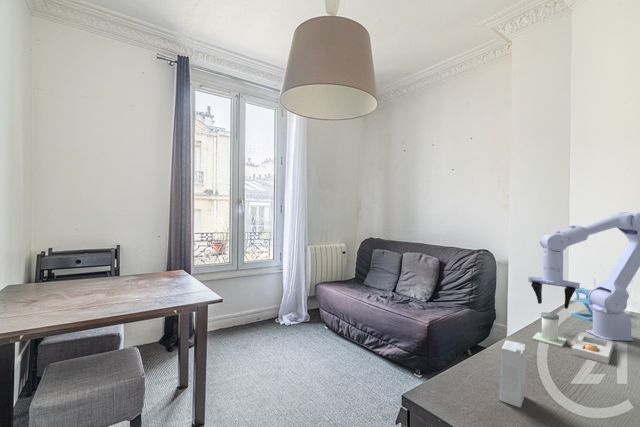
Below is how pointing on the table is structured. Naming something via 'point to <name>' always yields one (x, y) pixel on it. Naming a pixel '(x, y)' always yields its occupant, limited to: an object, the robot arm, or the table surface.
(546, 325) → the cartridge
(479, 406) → the table surface
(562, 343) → the mat
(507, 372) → the skincare box
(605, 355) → the housing
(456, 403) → the table surface
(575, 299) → the chair
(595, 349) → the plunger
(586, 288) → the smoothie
